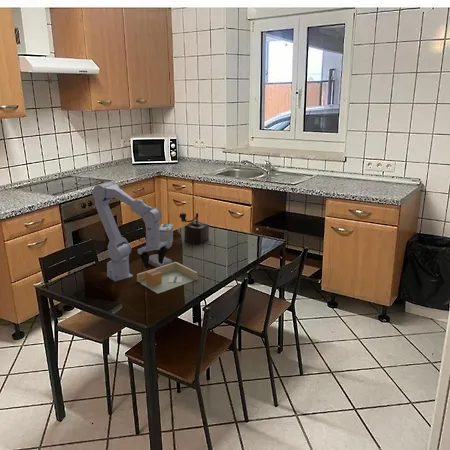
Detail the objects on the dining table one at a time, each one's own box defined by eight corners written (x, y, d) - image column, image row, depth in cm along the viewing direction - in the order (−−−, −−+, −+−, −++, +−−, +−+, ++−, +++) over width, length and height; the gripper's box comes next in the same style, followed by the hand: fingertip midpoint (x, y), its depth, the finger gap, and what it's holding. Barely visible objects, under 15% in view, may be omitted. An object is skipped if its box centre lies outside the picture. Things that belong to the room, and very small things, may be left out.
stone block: (160, 262, 227) (144, 263, 220) (161, 253, 226) (145, 254, 219) (174, 270, 219) (158, 271, 212) (176, 260, 218) (160, 262, 211)
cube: (152, 285, 195) (152, 275, 194) (146, 282, 199) (145, 271, 197) (161, 282, 199) (161, 272, 197) (155, 279, 202) (155, 268, 200)
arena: (157, 294, 189) (157, 286, 187) (137, 282, 200) (136, 274, 198) (197, 280, 203) (197, 272, 202) (176, 269, 214) (175, 261, 213)
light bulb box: (161, 241, 250) (161, 223, 247) (173, 241, 250) (173, 223, 247) (158, 248, 240) (157, 229, 237) (170, 248, 240) (170, 229, 237)
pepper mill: (193, 236, 260) (193, 206, 254) (209, 239, 255) (209, 209, 249) (177, 244, 247) (177, 213, 241) (194, 248, 242) (194, 216, 236)
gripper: (143, 242, 184) (144, 272, 188) (171, 235, 194) (172, 263, 198) (134, 238, 189) (135, 267, 193) (162, 231, 199) (162, 259, 203)
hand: (153, 265), depth 196 cm, fingers open, 7 cm apart
